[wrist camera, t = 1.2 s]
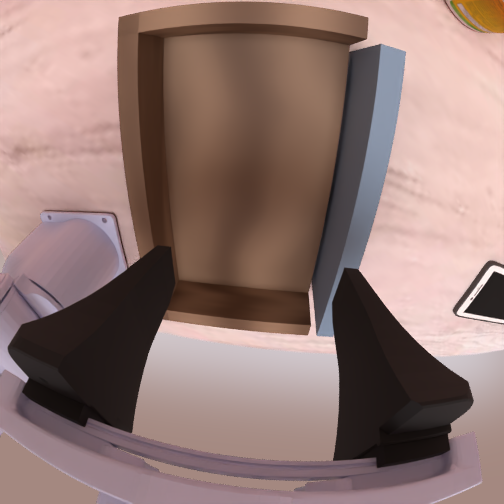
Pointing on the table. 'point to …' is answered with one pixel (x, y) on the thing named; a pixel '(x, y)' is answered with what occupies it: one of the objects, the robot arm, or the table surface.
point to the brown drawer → (234, 151)
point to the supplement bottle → (479, 14)
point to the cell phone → (484, 296)
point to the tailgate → (357, 169)
